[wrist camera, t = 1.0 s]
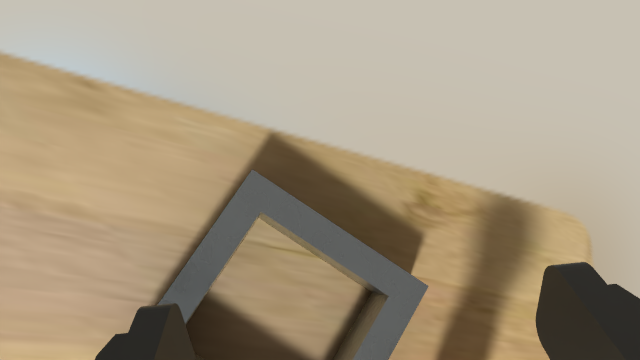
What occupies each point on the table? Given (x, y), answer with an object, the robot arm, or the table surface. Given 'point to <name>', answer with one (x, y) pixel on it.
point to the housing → (322, 240)
